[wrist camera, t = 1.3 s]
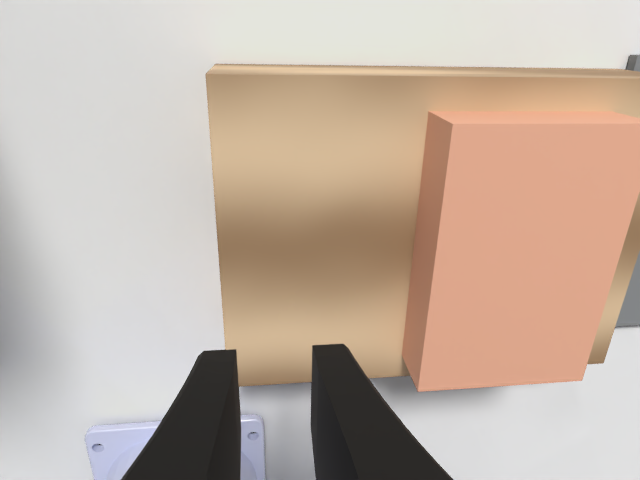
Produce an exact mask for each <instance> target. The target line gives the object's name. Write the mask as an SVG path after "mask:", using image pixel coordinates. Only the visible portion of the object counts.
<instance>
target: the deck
mask: <svg viewBox="0 0 640 480" xmlns="http://www.w3.org/2000/svg"><path fill="white" fill-rule="evenodd" d="M206 86H207V100H208V114H209V128H210V142H211V156H212V170H213V183H214V197H215V211H216V225H217V239H218V253H219V267H220V281H221V294H222V308H223V322H224V336H225V350H231V349H236V352H237V368H238V384H239V387H240V386H256V385H271V384H287V383H302V382H312V345H326V344H344V345H346V346H347V347H348V348H349V350H350V351H351V353H352V355H353V356H354V358H355V359H356V361H357V362H358V364H359V365H360V367H361V368H362V370H363V371H364V373H365V374H366V376H367V377H368V378H380V377H396V376H411V375H410V373H409V371H408V368H407V366H406V364H405V361H404V359H403V357H402V348H403V339H404V330H405V321H406V312H407V303H408V294H409V285H410V275H411V266H412V257H413V248H414V239H415V230H416V221H417V212H418V203H419V194H420V184H421V175H422V166H423V157H424V148H425V139H426V130H427V121H428V112H429V111H613V112H617V113H621V114H625V115H628V116H632V117H636V118H640V72H638V71H631V70H623V69H581V68H500V67H419V66H338V65H256V64H215V65H214V66H213V67H212V68H211V69H210V70H209V71H208V72H207V73H206ZM639 251H640V192H639V195H638V199H637V202H636V205H635V208H634V212H633V215H632V218H631V222H630V225H629V228H628V231H627V235H626V238H625V241H624V245H623V248H622V251H621V254H620V258H619V261H618V264H617V267H616V271H615V274H614V277H613V281H612V284H611V287H610V290H609V294H608V297H607V300H606V304H605V307H604V310H603V313H602V317H601V320H600V323H599V327H598V330H597V333H596V336H595V340H594V343H593V346H592V350H591V353H590V356H589V359H588V363H587V364H598V363H604V360H605V357H606V354H607V351H608V347H609V344H610V341H611V338H612V335H613V332H614V329H615V326H616V323H617V319H618V316H619V313H620V310H621V307H622V304H623V301H624V298H625V295H626V291H627V288H628V285H629V282H630V279H631V276H632V273H633V270H634V267H635V263H636V260H637V257H638V254H639Z"/></svg>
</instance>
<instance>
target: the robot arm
mask: <svg viewBox="0 0 640 480" xmlns="http://www.w3.org/2000/svg"><path fill="white" fill-rule="evenodd" d="M251 432H256V433H255V434H250V433H251ZM311 433H312V443H313V454H314V464H315V474H316V480H453V479H452V478H451V477H450V476H449V475H448V474H447V472H446V471H445V470H444V469H443V468H442V467H441V466H440V465H439V464H438V463H437V462H436V461H435V460H434V458H433V457H432V456H431V455H430V454H429V453H428V452H427V451H426V450H425V449H424V447H423V446H422V445H421V444H420V443H419V442H418V441H417V439H416V438H415V437H414V436H413V435H412V434H411V432H410V431H409V430H408V429H407V428H406V427H405V425H404V424H403V423H402V422H401V420H400V419H399V418H398V417H397V415H396V414H395V413H394V412H393V410H392V409H391V408H390V407H389V405H388V404H387V403H386V402H385V400H384V399H383V398H382V396H381V395H380V394H379V392H378V391H377V390H376V388H375V387H374V385H373V384H372V383H371V381H370V380H369V379H368V377H367V376H366V374H365V373H364V371H363V370H362V368H361V367H360V365H359V364H358V362H357V361H356V359H355V358H354V356H353V355H352V353H351V351H350V350H349V348H348V347H347V346H346V345H344V344H326V345H312V385H311ZM85 443H86V447H87V451H88V455H89V459H90V464H91V468H92V472H93V476H94V480H265V452H264V424H263V419H262V418H261V417H260V416H258V415H240V400H239V384H238V368H237V352H236V349H231V350H212V351H203V352H202V353H201V354H200V355H199V356H198V358H197V360H196V362H195V364H194V366H193V368H192V370H191V372H190V374H189V376H188V378H187V379H186V381H185V383H184V385H183V387H182V388H181V390H180V392H179V393H178V395H177V397H176V399H175V400H174V402H173V404H172V405H171V407H170V408H169V410H168V412H167V413H166V415H165V416H164V418H163V419H162V421H154V422H140V423H126V424H112V425H98V426H92V427H91V428H89V429H88V431H87V433H86V435H85ZM97 444H101V445H97Z"/></svg>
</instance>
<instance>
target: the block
mask: <svg viewBox="0 0 640 480" xmlns="http://www.w3.org/2000/svg"><path fill="white" fill-rule="evenodd" d="M639 192H640V118H636V117H632V116H628V115H625V114H621V113H617V112H613V111H429V112H428V121H427V130H426V139H425V148H424V157H423V166H422V175H421V184H420V194H419V203H418V212H417V221H416V230H415V239H414V248H413V257H412V266H411V275H410V285H409V294H408V303H407V312H406V321H405V330H404V339H403V348H402V357H403V359H404V361H405V364H406V366H407V368H408V371H409V373H410V375H411V378H412V380H413V382H414V384H415V387H416V389H417V391H418V392H422V391H437V390H452V389H466V388H481V387H496V386H510V385H525V384H539V383H554V382H569V381H582V379H583V376H584V373H585V369H586V366H587V363H588V359H589V356H590V353H591V350H592V346H593V343H594V340H595V336H596V333H597V330H598V327H599V323H600V320H601V317H602V313H603V310H604V307H605V304H606V300H607V297H608V294H609V290H610V287H611V284H612V281H613V277H614V274H615V271H616V267H617V264H618V261H619V258H620V254H621V251H622V248H623V245H624V241H625V238H626V235H627V231H628V228H629V225H630V222H631V218H632V215H633V212H634V208H635V205H636V202H637V199H638V195H639Z"/></svg>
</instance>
